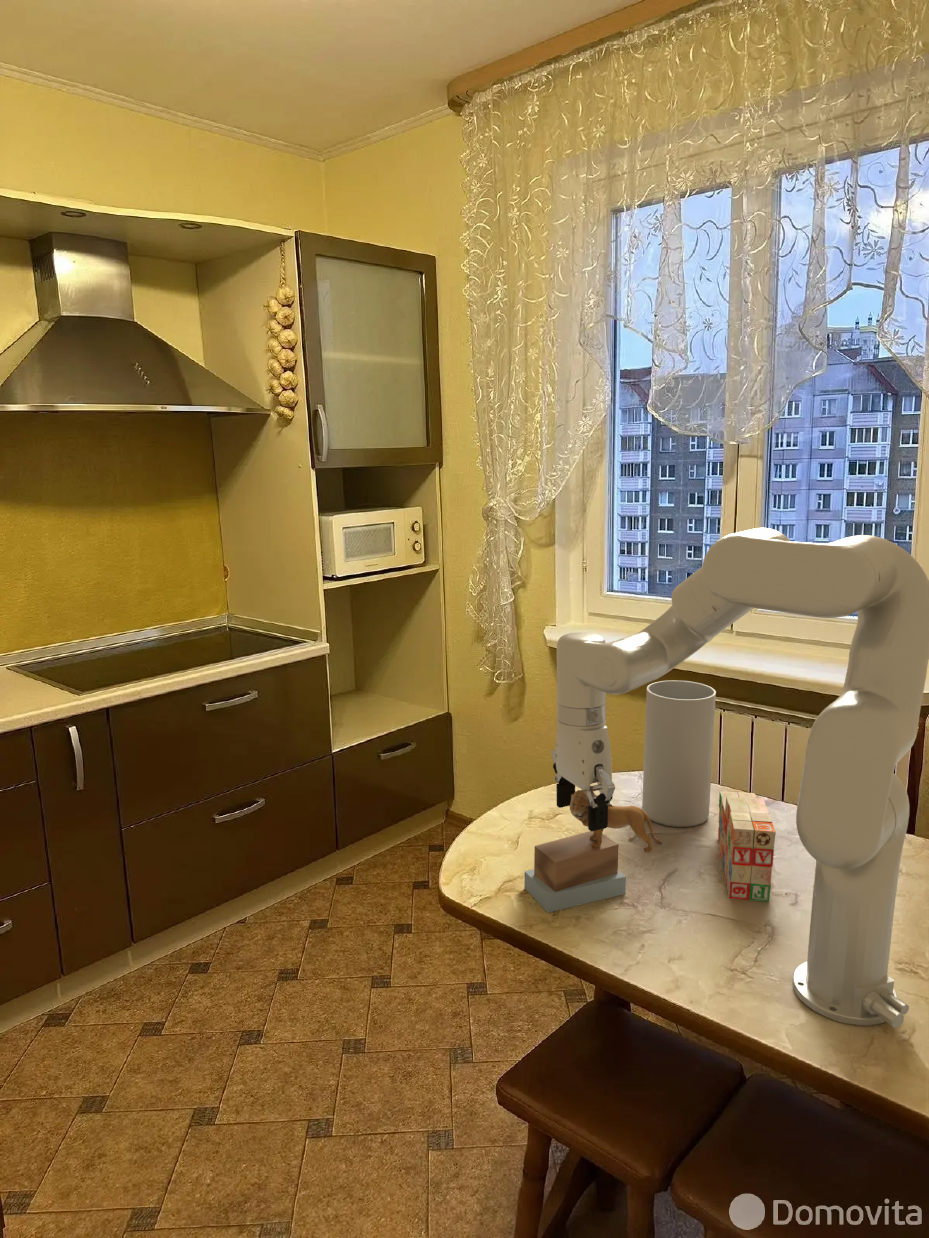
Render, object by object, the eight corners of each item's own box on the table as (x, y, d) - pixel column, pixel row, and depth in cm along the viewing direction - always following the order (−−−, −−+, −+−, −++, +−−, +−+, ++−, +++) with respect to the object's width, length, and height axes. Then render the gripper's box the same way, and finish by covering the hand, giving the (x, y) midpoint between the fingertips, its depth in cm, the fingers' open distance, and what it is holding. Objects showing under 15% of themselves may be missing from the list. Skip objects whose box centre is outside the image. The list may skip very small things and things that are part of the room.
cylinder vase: (631, 817, 166) (635, 692, 160) (657, 795, 176) (662, 676, 170) (694, 834, 159) (701, 704, 153) (718, 810, 169) (725, 687, 163)
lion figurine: (569, 850, 136) (570, 797, 134) (568, 835, 141) (569, 783, 139) (664, 854, 135) (666, 800, 133) (660, 838, 140) (662, 786, 138)
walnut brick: (617, 872, 139) (618, 844, 138) (555, 891, 134) (555, 861, 133) (595, 857, 144) (595, 829, 143) (534, 874, 139) (534, 845, 138)
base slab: (625, 893, 139) (626, 876, 138) (548, 912, 133) (548, 894, 133) (598, 870, 146) (599, 854, 145) (524, 888, 141) (524, 871, 140)
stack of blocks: (716, 838, 158) (720, 774, 155) (752, 840, 157) (757, 776, 154) (729, 899, 137) (733, 827, 135) (770, 903, 136) (775, 830, 133)
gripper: (633, 725, 127) (632, 833, 131) (574, 695, 143) (574, 793, 146) (589, 733, 125) (589, 843, 128) (533, 702, 140) (534, 801, 144)
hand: (581, 816), depth 137 cm, fingers open, 9 cm apart
